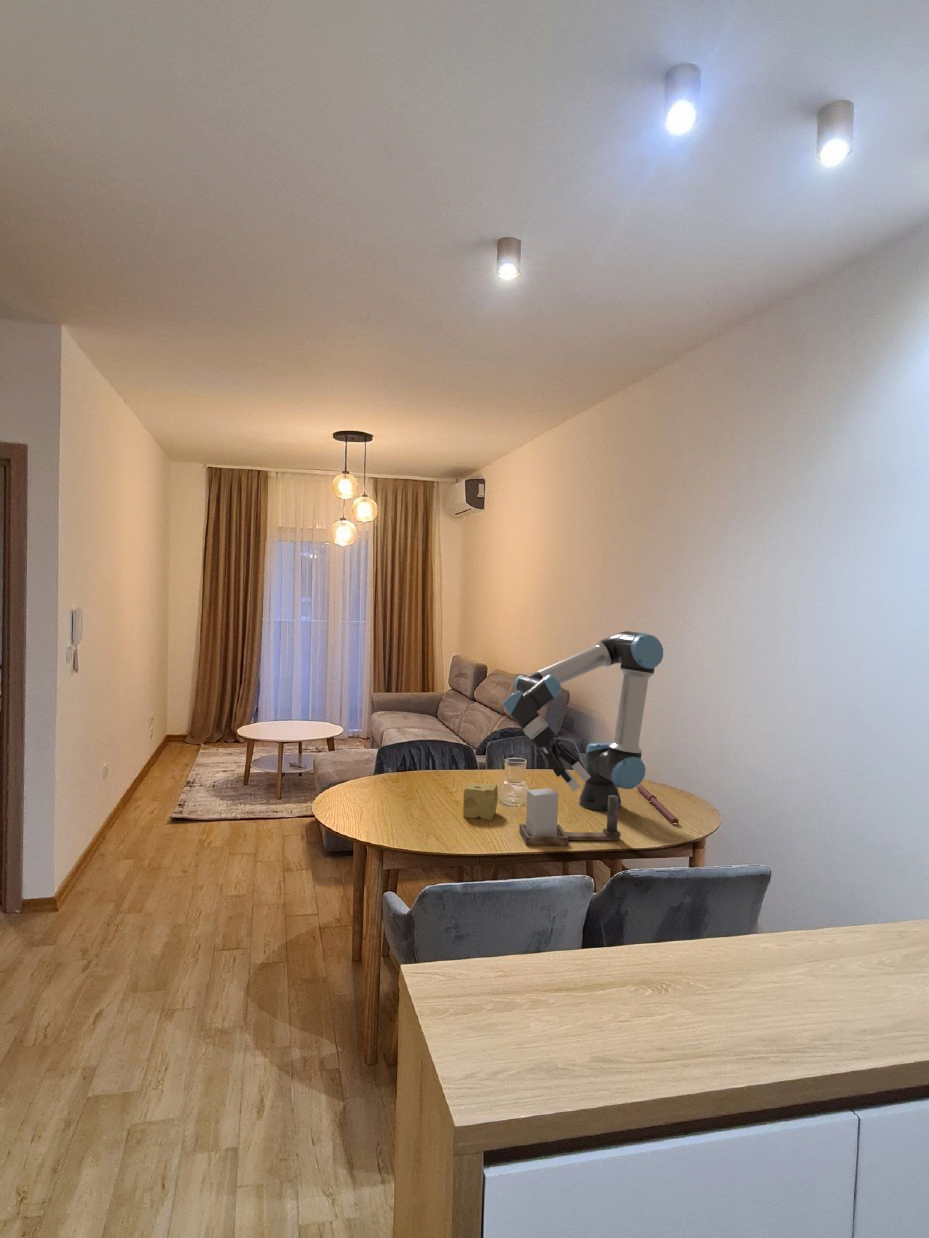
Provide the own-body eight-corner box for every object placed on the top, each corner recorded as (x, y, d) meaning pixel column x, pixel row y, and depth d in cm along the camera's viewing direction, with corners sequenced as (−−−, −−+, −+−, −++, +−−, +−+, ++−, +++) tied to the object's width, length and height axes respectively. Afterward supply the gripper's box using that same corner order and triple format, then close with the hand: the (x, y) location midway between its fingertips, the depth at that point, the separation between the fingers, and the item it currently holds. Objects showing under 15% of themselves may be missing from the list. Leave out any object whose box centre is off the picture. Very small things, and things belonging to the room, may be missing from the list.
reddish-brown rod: (635, 791, 307) (636, 783, 307) (643, 791, 307) (643, 783, 307) (670, 826, 262) (671, 817, 262) (679, 826, 262) (680, 817, 262)
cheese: (492, 820, 260) (493, 791, 260) (461, 817, 262) (462, 788, 262) (497, 812, 270) (498, 783, 270) (467, 809, 273) (468, 781, 272)
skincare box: (548, 835, 246) (550, 787, 245) (557, 842, 240) (560, 793, 239) (524, 838, 243) (526, 789, 242) (533, 844, 237) (535, 794, 236)
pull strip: (612, 831, 252) (614, 791, 251) (624, 845, 239) (626, 802, 238) (519, 830, 249) (521, 789, 248) (526, 844, 236) (528, 801, 236)
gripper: (542, 733, 267) (583, 782, 261) (519, 746, 244) (563, 800, 238) (558, 720, 264) (599, 769, 259) (536, 731, 241) (581, 785, 236)
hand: (582, 784), depth 249 cm, fingers open, 13 cm apart
